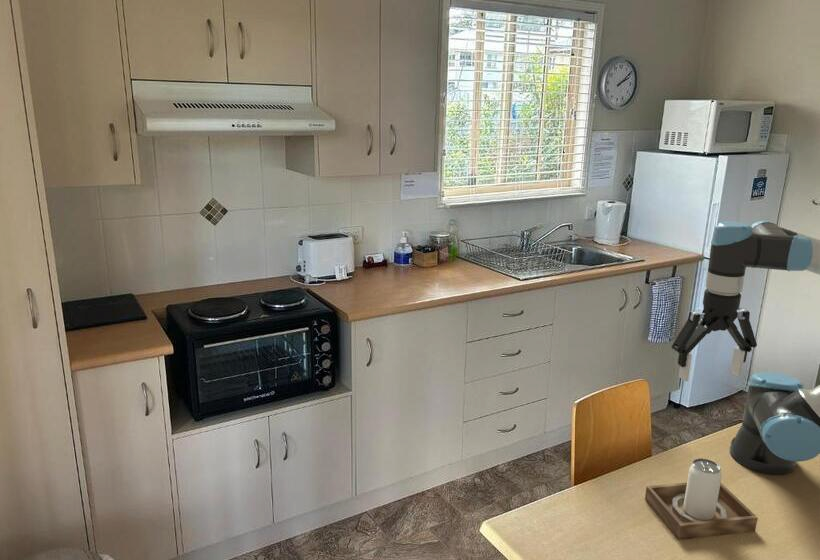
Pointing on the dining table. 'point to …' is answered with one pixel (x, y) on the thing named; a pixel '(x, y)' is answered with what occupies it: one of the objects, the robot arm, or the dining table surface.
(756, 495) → the dining table surface
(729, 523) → the walled box
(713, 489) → the can
